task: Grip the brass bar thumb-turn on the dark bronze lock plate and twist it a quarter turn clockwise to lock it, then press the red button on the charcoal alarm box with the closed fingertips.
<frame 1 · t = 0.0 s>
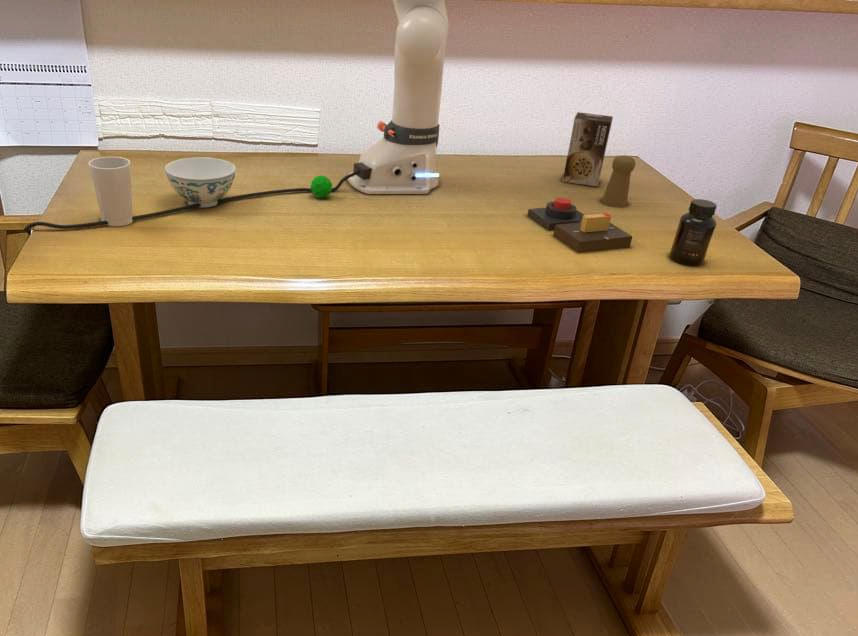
lock plate: (591, 241, 161), on the table
cup: (117, 221, 156), on the table
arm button: (562, 204, 168), point 4 cm above the table, slide at 0.1 cm
polyhedron: (321, 197, 174), on the table
chinaware: (203, 203, 167), on the table
supplement bottle: (685, 260, 156), on the table
alarm box: (558, 221, 170), on the table
thumb turn: (595, 222, 158), point 4 cm above the table, hinge at 0.0°
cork: (614, 203, 183), on the table
coffee box: (580, 181, 195), on the table
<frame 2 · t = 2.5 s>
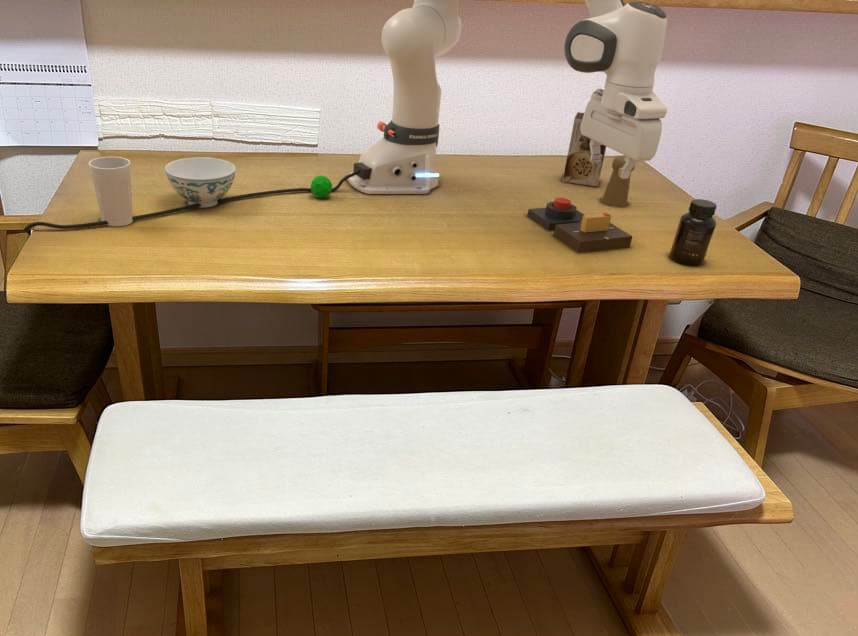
hand: (608, 170, 152), 15 cm above the table, tool pointing down, fingers open, 8 cm apart
nothing on the table moved.
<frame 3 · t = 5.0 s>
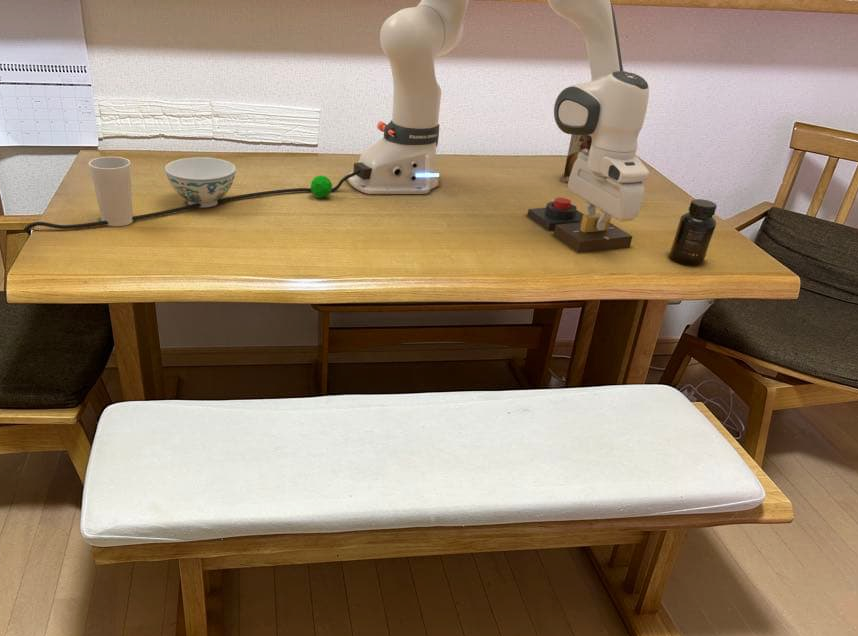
hand: (594, 226, 159), 3 cm above the table, tool pointing down, fingers closed on thumb turn, 2 cm apart
thumb turn: (595, 222, 158), point 4 cm above the table, hinge at 0.0°, touching gripper
everything else where it was.
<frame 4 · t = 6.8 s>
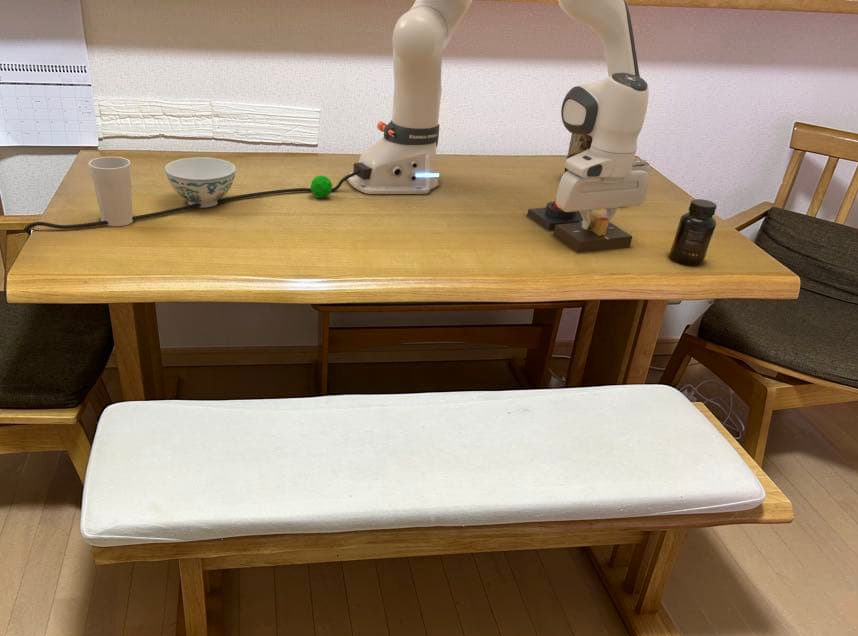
hand: (594, 227, 159), 3 cm above the table, tool pointing down, fingers open, 3 cm apart
thumb turn: (595, 222, 158), point 4 cm above the table, hinge at -89.9°
everything else where it was.
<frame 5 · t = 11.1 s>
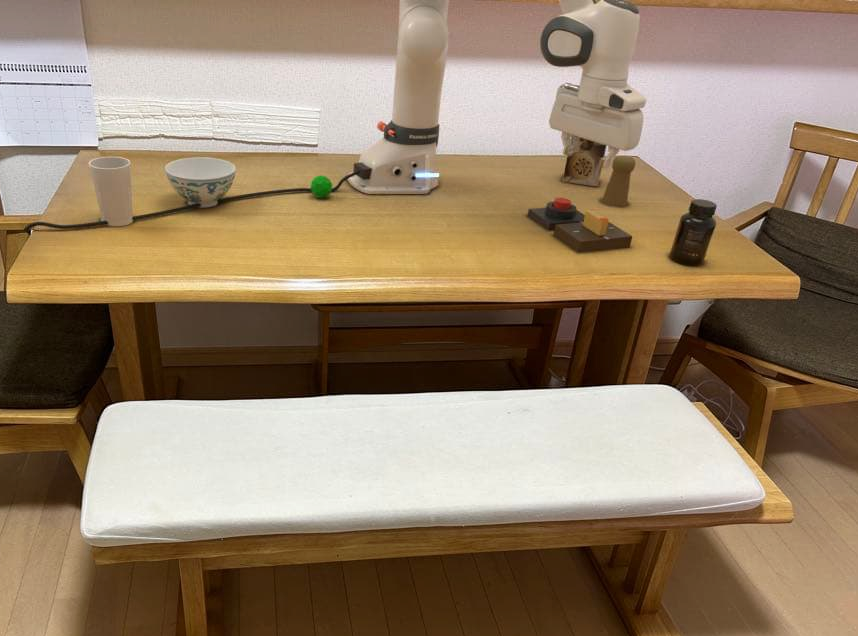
hand: (585, 161, 158), 15 cm above the table, tool pointing down, fingers open, 8 cm apart
nothing on the table moved.
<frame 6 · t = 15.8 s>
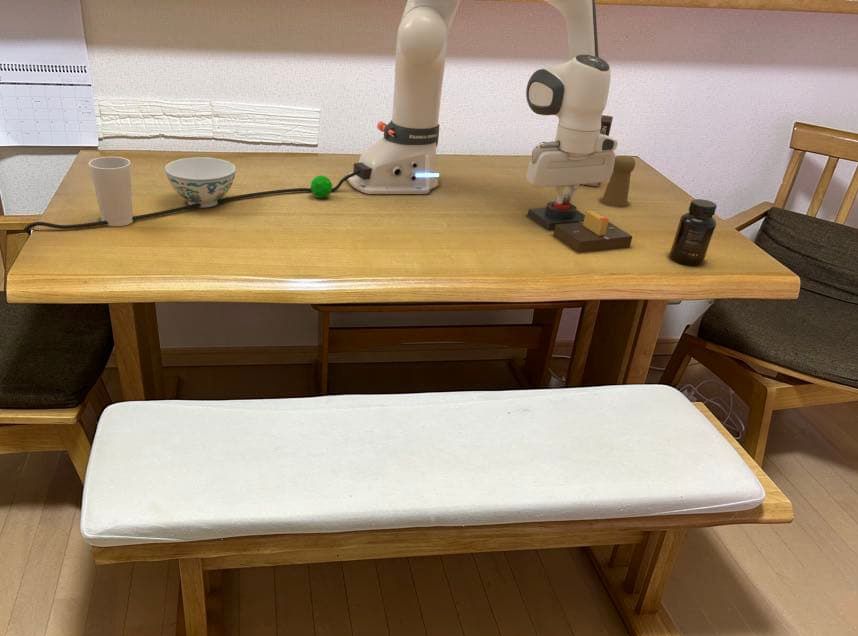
hand: (563, 203, 168), 4 cm above the table, tool pointing down, fingers closed, pressing on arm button
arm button: (561, 207, 168), point 3 cm above the table, slide at -0.6 cm, touching gripper
everything else where it was.
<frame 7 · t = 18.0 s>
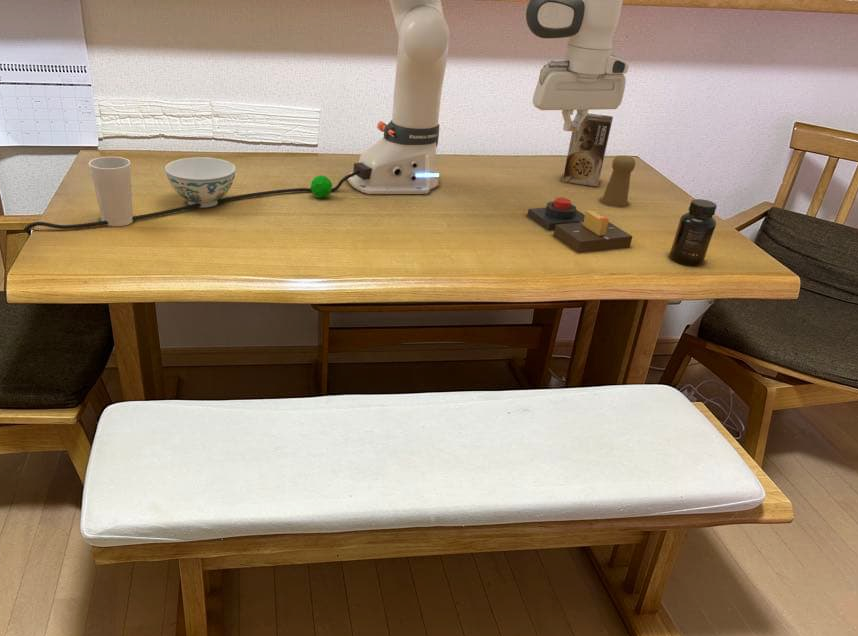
hand: (570, 130, 162), 19 cm above the table, tool pointing down, fingers closed
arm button: (562, 204, 168), point 4 cm above the table, slide at 0.1 cm
everything else where it was.
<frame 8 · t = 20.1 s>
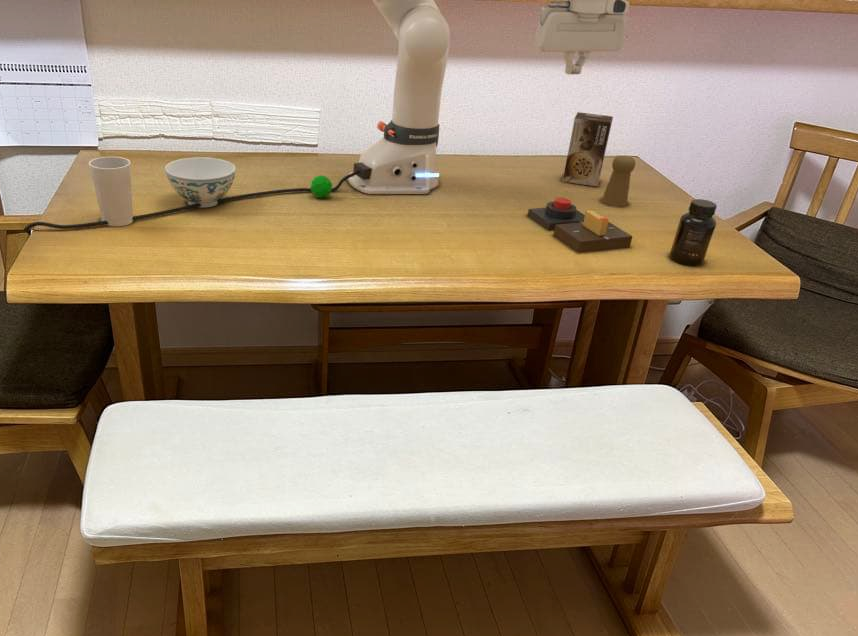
hand: (572, 73, 162), 29 cm above the table, tool pointing down, fingers closed
nothing on the table moved.
at the end: thumb turn at -90° (first picture: +0°); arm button pushed in 0.9 cm at the most during the clip, back to where it started at the end; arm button slide at 0.1 cm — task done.
